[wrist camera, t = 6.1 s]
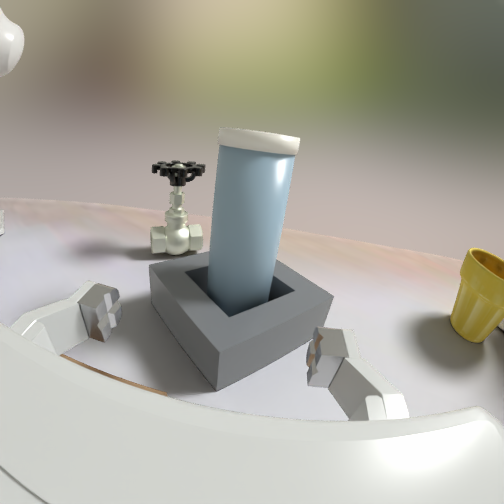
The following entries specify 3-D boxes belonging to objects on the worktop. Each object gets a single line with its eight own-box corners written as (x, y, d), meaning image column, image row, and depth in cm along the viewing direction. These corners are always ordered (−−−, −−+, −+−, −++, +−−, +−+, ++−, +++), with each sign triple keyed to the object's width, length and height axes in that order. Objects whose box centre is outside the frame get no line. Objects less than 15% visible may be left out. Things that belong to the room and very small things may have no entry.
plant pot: (486, 365, 21) (529, 296, 16) (429, 322, 28) (461, 253, 24) (497, 332, 26) (527, 275, 22) (450, 299, 34) (475, 242, 29)
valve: (205, 263, 35) (212, 169, 30) (154, 267, 32) (154, 169, 27) (193, 241, 40) (199, 160, 35) (150, 244, 38) (150, 160, 32)
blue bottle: (192, 312, 26) (204, 125, 18) (240, 296, 29) (263, 131, 22) (226, 350, 22) (254, 132, 15) (276, 327, 26) (316, 141, 18)
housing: (151, 303, 26) (148, 264, 24) (245, 276, 33) (249, 242, 31) (216, 391, 18) (219, 352, 16) (320, 333, 25) (333, 296, 23)
